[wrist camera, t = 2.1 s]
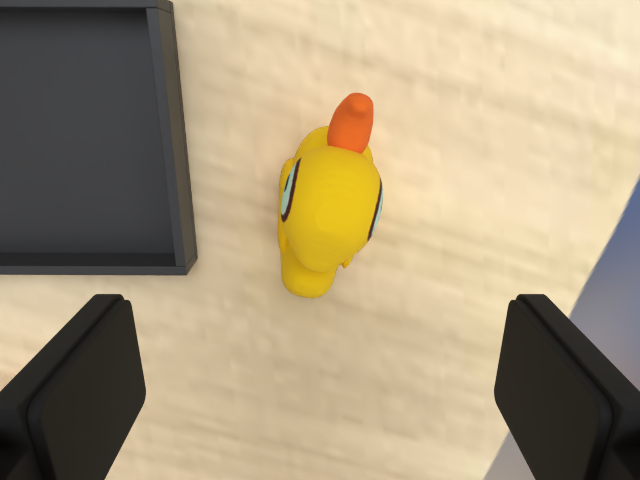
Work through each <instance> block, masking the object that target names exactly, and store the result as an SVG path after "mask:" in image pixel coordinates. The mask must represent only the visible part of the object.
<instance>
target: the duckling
mask: <svg viewBox="0 0 640 480" xmlns="http://www.w3.org/2000/svg"><path fill="white" fill-rule="evenodd" d="M372 125H373V102H372V100H371V99H370V98H369V97H368V96H367V95H364V94H362V93H352V94H350V95H348V96H347V97H346V98H345V99H344V100H343V101H342V102H341V103H340V105H339V106H338V107H337V109H336V110H335V112H334V115H333V117H332V120H331V122H330V125H329V126H326V127H321V128H318V129H316V130H314V131H313V132H311V133H310V134H309V135H308V136H307V137H306V138H305V139H304V140H303V141H302V143H301V144H300V146H299V148H298V150H297V152H296V155H295V157H294V159H289V160H287V161H286V162H285V164H284V166H283V169H282V172H281V176H280V185H279V215H278V242H279V247H280V250H281V274H282V281H283V284H284V286H285V287H286V289H287V290H288V291H290V292H291V293H293V294H295V295H298V296H301V297H307V298H317V297H320V296H322V295H324V294H325V293H326V292H327V291H328V290H329V289H330V287H331V285H332V283H333V280H334V277H335V273H336V270H337V268H338V266H339V265H340V264H342V266H343V267H344V268H346V267H347V266H348V265H349V264H350V262H351V260H352V258H353V255H355V254H356V253H357V252H358V251H360V250H361V249H362V248H363V247H364V246H365V244H366V243H367V242H368V241H369V239H370V238H371V236H372V234H373V232H374V230H375V228H376V226H377V223H378V220H379V217H380V213H381V209H382V201H383V189H382V182H381V178H380V175H379V173H378V171H377V169H376V167H375V166H374V164H373V158H372V154H371V150H370V148H369V146H368V142H369V139H370V135H371V130H372Z"/></svg>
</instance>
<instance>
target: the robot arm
mask: <svg viewBox="0 0 640 480" xmlns="http://www.w3.org/2000/svg"><path fill="white" fill-rule="evenodd" d="M145 396H146V387H145V381H144V375H143V370H142V364H141V358H140V352H139V346H138V340H137V334H136V328H135V323H134V317H133V311H132V306H131V303H130V301H129V300H124V298H123V296H122V295H121V294H96V295H94V296H93V297H92V298H91V299H90V300H89V301H88V302H87V303H86V304H85V305H84V306H83V307H82V308H81V309H80V310H79V311H78V313H77V314H76V315H75V316H74V317H73V318H72V319H71V320H70V321H69V322H68V323H67V324H66V325H65V326H64V327H63V328H62V329H61V330H60V331H59V332H58V333H57V334H56V335H55V336H54V337H53V338H52V339H51V340H50V341H49V342H48V343H47V344H46V345H45V346H44V347H43V348H42V349H41V350H40V351H39V353H38V354H37V355H36V356H35V357H34V358H33V359H32V360H31V361H30V362H29V363H28V364H27V365H26V366H25V367H24V368H23V369H22V370H21V371H20V372H19V373H18V374H17V375H16V376H15V377H14V378H13V379H12V380H11V381H10V382H9V383H8V384H7V385H6V386H5V387H4V388H3V389H2V390H1V391H0V480H104V479H105V478H106V476H107V474H108V472H109V470H110V468H111V466H112V464H113V462H114V460H115V458H116V456H117V454H118V452H119V451H120V449H121V447H122V445H123V443H124V441H125V439H126V437H127V435H128V433H129V431H130V429H131V427H132V425H133V424H134V422H135V420H136V418H137V416H138V414H139V412H140V410H141V408H142V406H143V404H144V401H145ZM494 396H495V401H496V404H497V406H498V408H499V410H500V412H501V414H502V416H503V418H504V420H505V422H506V424H507V425H508V427H509V429H510V431H511V433H512V435H513V437H514V439H515V441H516V443H517V445H518V447H519V449H520V451H521V452H522V454H523V456H524V458H525V460H526V462H527V464H528V466H529V468H530V470H531V472H532V474H533V476H534V478H535V479H536V480H640V391H639V390H638V389H637V388H636V387H635V386H634V385H633V384H632V383H631V382H630V381H629V380H628V379H627V378H626V377H625V376H624V375H623V374H622V373H621V372H620V371H619V370H618V369H617V368H616V367H615V366H614V365H613V364H612V363H611V362H610V361H609V360H608V359H607V358H606V357H605V356H604V355H603V354H602V353H601V351H600V350H599V349H598V348H597V347H596V346H595V345H594V344H593V343H592V342H591V341H590V340H589V339H588V338H587V337H586V336H585V335H584V334H583V333H582V332H581V331H580V330H579V329H578V328H577V327H576V326H575V325H574V324H573V323H572V322H571V321H570V320H569V319H568V318H567V317H566V316H565V315H564V314H563V313H562V311H561V310H560V309H559V308H558V307H557V306H556V305H555V304H554V303H553V302H552V301H551V300H550V299H549V298H548V297H547V296H546V295H544V294H519V295H518V296H517V298H516V300H511V301H510V303H509V306H508V311H507V317H506V323H505V328H504V334H503V340H502V346H501V352H500V358H499V364H498V370H497V375H496V381H495V387H494Z"/></svg>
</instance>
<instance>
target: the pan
mask: <svg viewBox="0 0 640 480" xmlns="http://www.w3.org/2000/svg"><path fill="white" fill-rule="evenodd" d="M197 258H198V257H197V247H196V236H195V226H194V216H193V206H192V196H191V186H190V176H189V165H188V155H187V145H186V135H185V125H184V115H183V104H182V94H181V84H180V74H179V64H178V54H177V44H176V33H175V23H174V13H173V3H172V2H171V1H168V0H0V275H187V274H188V272H189V271H190V269H191V267H192V266H193V264H194V263H195V261H196V260H197Z"/></svg>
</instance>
